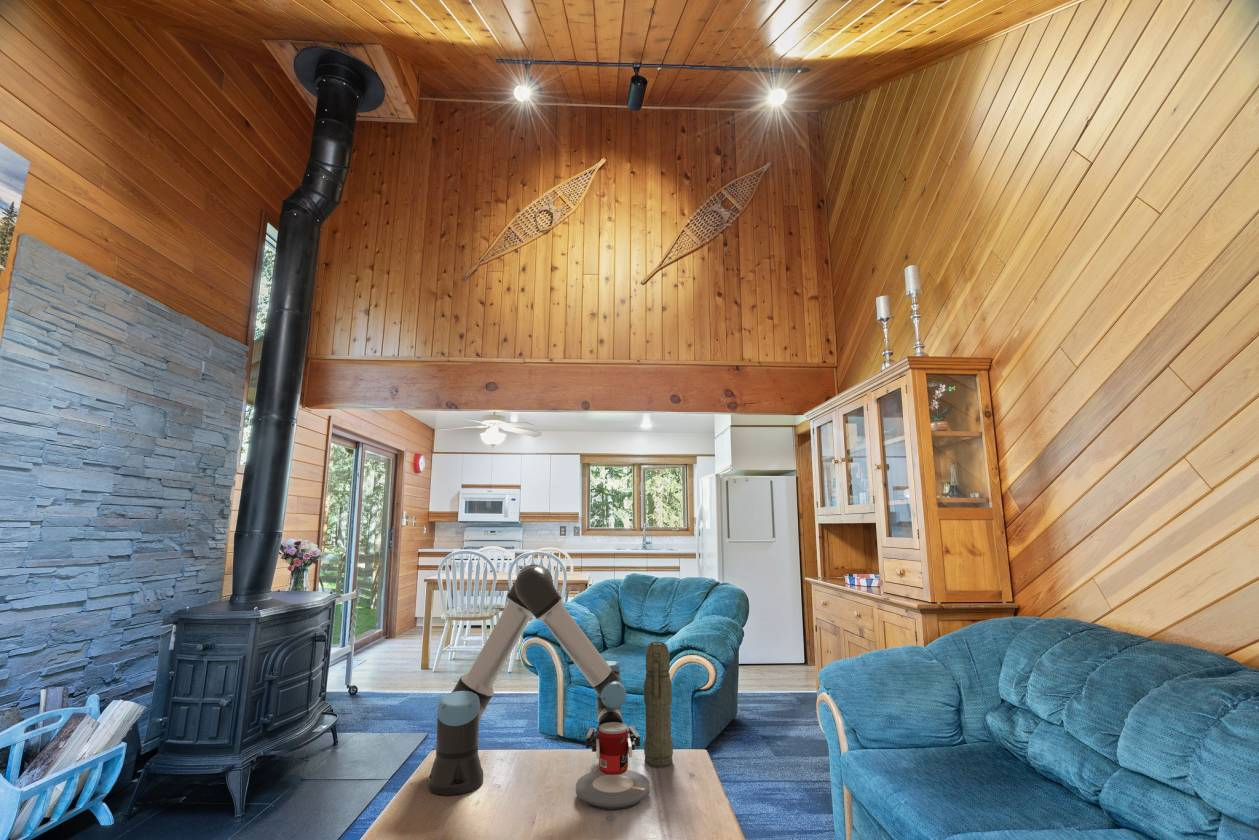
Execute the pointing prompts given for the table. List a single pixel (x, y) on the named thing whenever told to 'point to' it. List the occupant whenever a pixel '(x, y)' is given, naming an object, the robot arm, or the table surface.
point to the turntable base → (612, 807)
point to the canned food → (613, 748)
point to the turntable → (612, 788)
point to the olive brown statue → (658, 706)
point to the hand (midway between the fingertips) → (614, 752)
